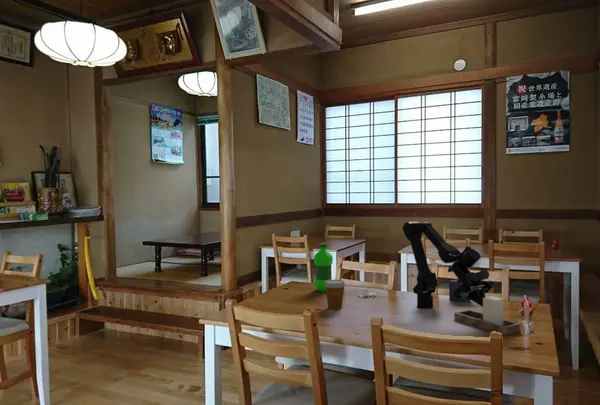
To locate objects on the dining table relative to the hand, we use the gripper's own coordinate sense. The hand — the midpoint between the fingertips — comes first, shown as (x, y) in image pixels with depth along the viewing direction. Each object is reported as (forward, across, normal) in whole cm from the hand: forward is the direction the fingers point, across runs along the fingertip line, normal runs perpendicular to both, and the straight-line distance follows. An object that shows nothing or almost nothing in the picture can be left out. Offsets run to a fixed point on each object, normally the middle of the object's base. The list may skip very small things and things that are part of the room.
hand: (486, 307), depth 171 cm
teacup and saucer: (-37, -11, +48) cm, 62 cm away
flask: (-17, +21, +28) cm, 39 cm away
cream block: (+6, 0, +2) cm, 6 cm away
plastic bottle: (-55, -22, +65) cm, 88 cm away
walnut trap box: (+5, 0, +5) cm, 7 cm away
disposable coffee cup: (-32, -35, +43) cm, 64 cm away
